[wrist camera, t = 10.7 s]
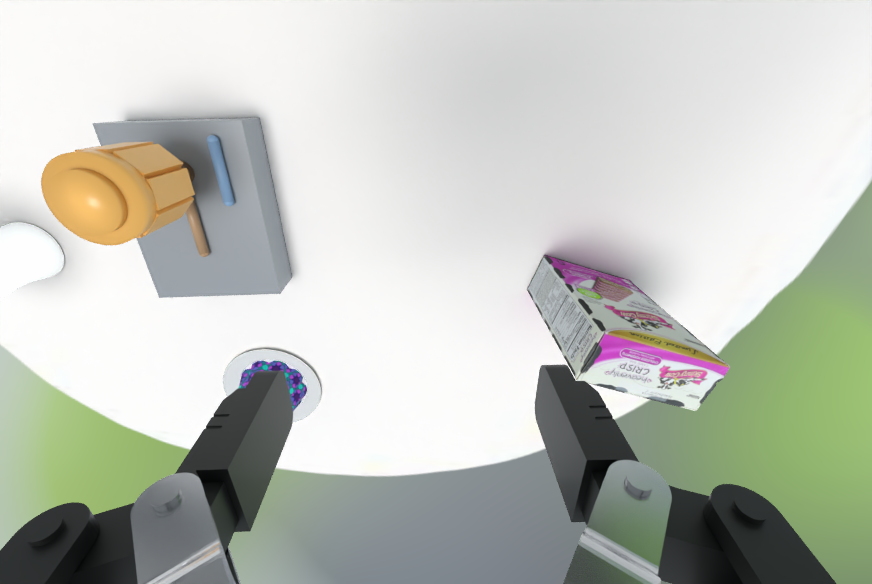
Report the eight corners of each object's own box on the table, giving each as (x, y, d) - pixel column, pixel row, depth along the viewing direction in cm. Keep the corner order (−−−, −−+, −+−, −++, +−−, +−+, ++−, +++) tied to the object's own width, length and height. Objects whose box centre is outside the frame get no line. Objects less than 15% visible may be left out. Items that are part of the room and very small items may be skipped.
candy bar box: (631, 277, 44) (736, 367, 30) (610, 314, 46) (697, 414, 32) (542, 250, 42) (606, 332, 28) (524, 290, 44) (574, 385, 30)
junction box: (125, 120, 35) (83, 124, 31) (259, 117, 36) (236, 120, 31) (181, 280, 42) (153, 301, 38) (292, 277, 43) (277, 297, 38)
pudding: (294, 333, 46) (280, 360, 42) (338, 405, 52) (329, 436, 47) (206, 362, 48) (183, 390, 43) (257, 429, 53) (241, 461, 48)
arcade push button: (98, 143, 28) (10, 155, 22) (179, 140, 28) (113, 153, 22) (128, 220, 31) (56, 250, 25) (202, 218, 31) (148, 248, 25)
